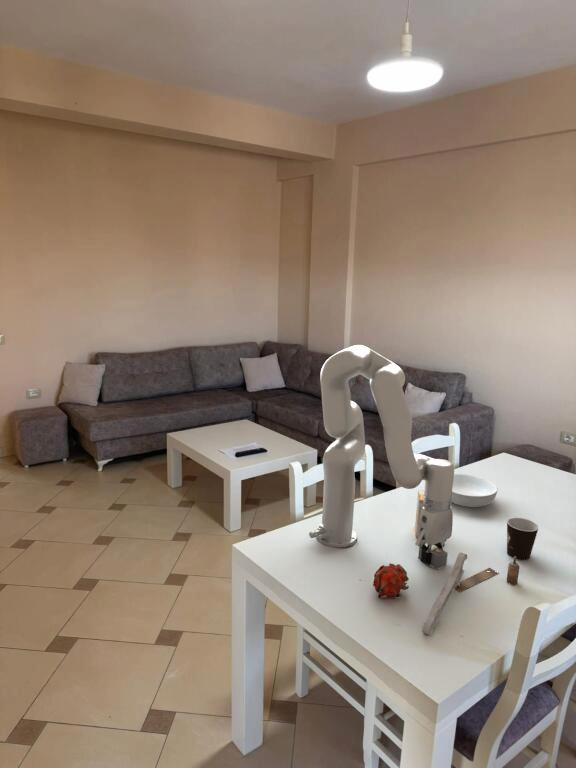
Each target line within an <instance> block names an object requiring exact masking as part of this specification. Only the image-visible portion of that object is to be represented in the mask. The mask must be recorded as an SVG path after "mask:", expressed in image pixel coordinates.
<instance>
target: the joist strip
mask: <svg viewBox="0 0 576 768" xmlns="http://www.w3.org/2000/svg"><path fill="white" fill-rule="evenodd" d="M487 571H490V572H487ZM495 571H496V570H494V569H493V568H492V567H488V568H486V569H484V570H481V571H479V572H476V573H475V574H473V575H471V576H469V577H467V578H465V579H461V581H460V587H458V586H457V587H456V588H455V589H454V590H455V591H457V592H458V593H462V592H463V591H465V590H467V589H469V588H471V587H472V588H473V587H475V586H476V585H477V584H480V583H482V582H483V580H484V581H486V580H488V579H490V578H492V577H494V576H496V575H498V574H497V572H498V571H497V572H495ZM495 574H496V575H495ZM493 575H494V576H493ZM491 576H492V577H491ZM489 577H490V578H489ZM487 578H488V579H487ZM485 579H486V580H485ZM481 581H482V582H481Z"/></svg>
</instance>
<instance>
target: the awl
mask: <svg viewBox="0 0 576 768" xmlns="http://www.w3.org/2000/svg"><path fill="white" fill-rule="evenodd" d="M520 567H521V566H520V565H519V563H518V562H517V557H516V556H514V558H513V561H510V562H509V563H508V566H507V573H506V580H507V581H506V582H507V584H509V583H510V584H509V585H512V584H513V586H515V584H516V585H517V584H518V581H519V574H520Z"/></svg>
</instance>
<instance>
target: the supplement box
mask: <svg viewBox="0 0 576 768" xmlns="http://www.w3.org/2000/svg"><path fill="white" fill-rule="evenodd" d="M417 491H418V492H417V502H416V510H415V511H416V512H415V522H414V532H415V538H416V539H418V526H419V520H420V515H421V511H422V508H423V501H424V491H425V489H418V490H417Z"/></svg>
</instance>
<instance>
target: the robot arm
mask: <svg viewBox="0 0 576 768" xmlns="http://www.w3.org/2000/svg"><path fill="white" fill-rule="evenodd" d="M404 372H405V371H404V370H403V369H402V368H401V367H400V366H399V365H397V364H396V363H395V362H393V361H391V360H389V359H388V358H386V357H384V356H383V355H381V354H379V353H378V352H376V351H374V350H373V349H371V348H369V347H368V346H365V345H363V344H356V345H352V346H349V347H346V348H344V349H342V350H340V351H338V352H336V353H334V354H333V355H331V356H330V357H329V358H328V359H326V360H325V362H324V364H323V365H322V367H321V370H320V375H319V376H320V378H319V380H320V382H319V383H320V390H321V391H320V392H321V405H322V417H323V426H324V430H325V432H326V433H327V435H328V436H330V437H331V438H335V440H334V441H333V442H332V443H330V445H329V446H328V447H327V448H326V449H325V451H324V453H323V456H322V468H323V496H322V497H323V498H322V499H323V500H322V513H321V514H322V515H321V516H322V517H321V523H320V524H319V526H318V528H317V529H316V530H313V531H310V532H309V533H308V535H309V538H310V539H315V538H317V540H318V542H320V543H321V544H323V545H325V546H328V547H332V548H347V547H350V546H353V545H354V544H355V543H356V542H357V539H358V534H357V532H356V531H355V530H353V525H354V513H355V512H354V508H355V496H356V495H355V494H356V493H355V492H356V491H355V490H356V478H355V468H356V465H357V464H359V463H358V462H360V461H361V459H362V458H363V456H364V455H365V452H366V437H365V435H366V434H365V425H364V414H363V412H362V409H361V407H360V405H359V404H357V403H356V402H355V401H353V400H352V399H351V390H350V386H349V380H351V379H352V378H355V377H358V376H359V375H361V376H362V377H363V378H366V379H368V380H369V387H370V390H371V394H372V397H373V399H374V402H375V405H376V409H377V412H378V414H379V418H380V421H381V425H382V428H383V429H382V430H383V438H384V446H385V451H386V457H387V461H388V464H389V467H390V470H391V474H392V476H393V478H394V480H395V482H396V483H397V484H398V485H399V487H402V488H404V489H407V490H412V489H416V487H419V485H420V484H421V483H422V482H423V481H424V482H425V483H424V490H425V491H424V501H423V508H422V511H421V515H420V520H419V526H418V538H416V540H415V543H414V544H415V546H417V547H418V548H419V547H420V549H422V553H421V560H420V561H421V562H422V563H424V564H426V565H427V566H431V565H430V564H431V556H432V553H431V552H430V551H431V547H432V545H435V546H437V547H438V548H440V549H442V550H444V547H445V546H446V541H448V539H450V538H451V537H452V535H453V522H454V520H453V519H454V518H453V507H452V506H451V505H452V502H451V498H452V489H453V480H454V474H455V469H456V468H455V465H454V464H453V463H452V462H451V461H449V460H447V459H444V458H443V459H442V458H433V457H431V456H428V455H424V454H422V453H418V452H414V450H413V445H412V430H413V416H412V413H411V410H410V407H409V405H408V401H407V398H406V395H405V393H404V389H403V386H404V385H405V382H406V375H405V373H404ZM426 543H427V544H428V546H426V545H425V544H426Z"/></svg>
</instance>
